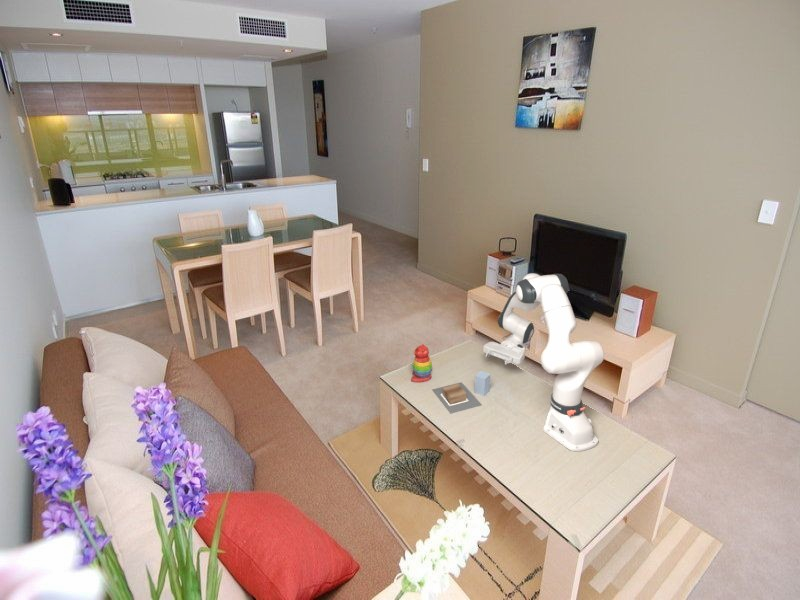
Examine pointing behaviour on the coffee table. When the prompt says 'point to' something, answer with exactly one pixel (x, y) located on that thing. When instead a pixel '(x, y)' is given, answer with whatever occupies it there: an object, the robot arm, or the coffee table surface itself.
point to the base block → (454, 394)
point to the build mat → (459, 406)
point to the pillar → (482, 383)
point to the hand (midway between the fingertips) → (495, 359)
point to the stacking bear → (421, 365)
